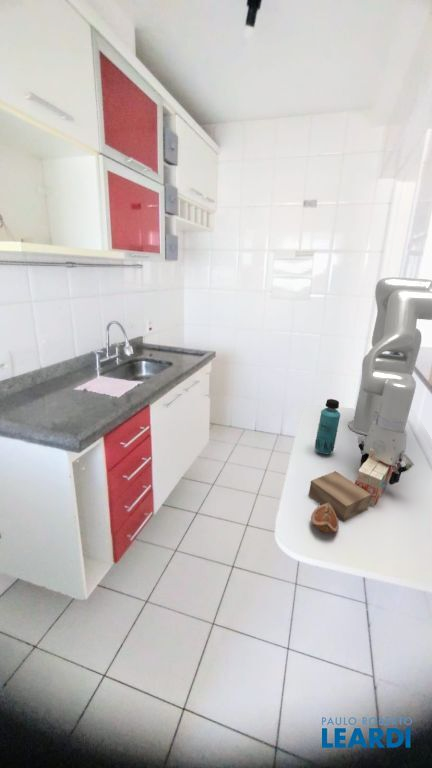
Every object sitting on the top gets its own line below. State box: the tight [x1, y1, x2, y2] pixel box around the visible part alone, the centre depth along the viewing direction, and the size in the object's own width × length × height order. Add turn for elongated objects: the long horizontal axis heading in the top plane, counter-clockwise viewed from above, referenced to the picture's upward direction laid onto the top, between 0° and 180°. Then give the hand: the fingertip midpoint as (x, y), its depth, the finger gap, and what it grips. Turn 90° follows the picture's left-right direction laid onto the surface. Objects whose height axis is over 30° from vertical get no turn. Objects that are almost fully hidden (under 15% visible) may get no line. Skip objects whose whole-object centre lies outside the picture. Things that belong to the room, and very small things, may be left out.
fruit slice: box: [310, 502, 340, 534], centre depth 85 cm, size 8×7×5 cm
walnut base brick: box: [308, 470, 371, 523], centre depth 94 cm, size 10×12×5 cm
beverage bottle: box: [314, 398, 341, 455], centre depth 116 cm, size 6×7×20 cm
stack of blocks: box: [354, 449, 394, 508], centre depth 101 cm, size 21×6×12 cm, turn 140°
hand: (378, 474), depth 102 cm, fingers open, 9 cm apart
